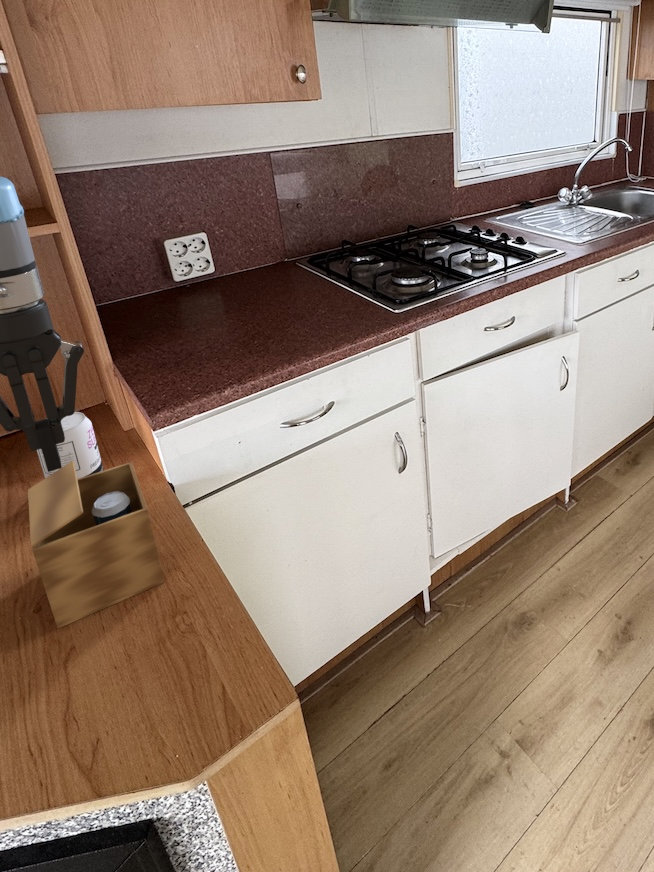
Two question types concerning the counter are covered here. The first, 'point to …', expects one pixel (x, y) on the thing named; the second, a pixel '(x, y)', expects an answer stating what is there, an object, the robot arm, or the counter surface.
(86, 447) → the supplement can
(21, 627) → the counter surface
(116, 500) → the beer can
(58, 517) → the flap
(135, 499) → the open box
